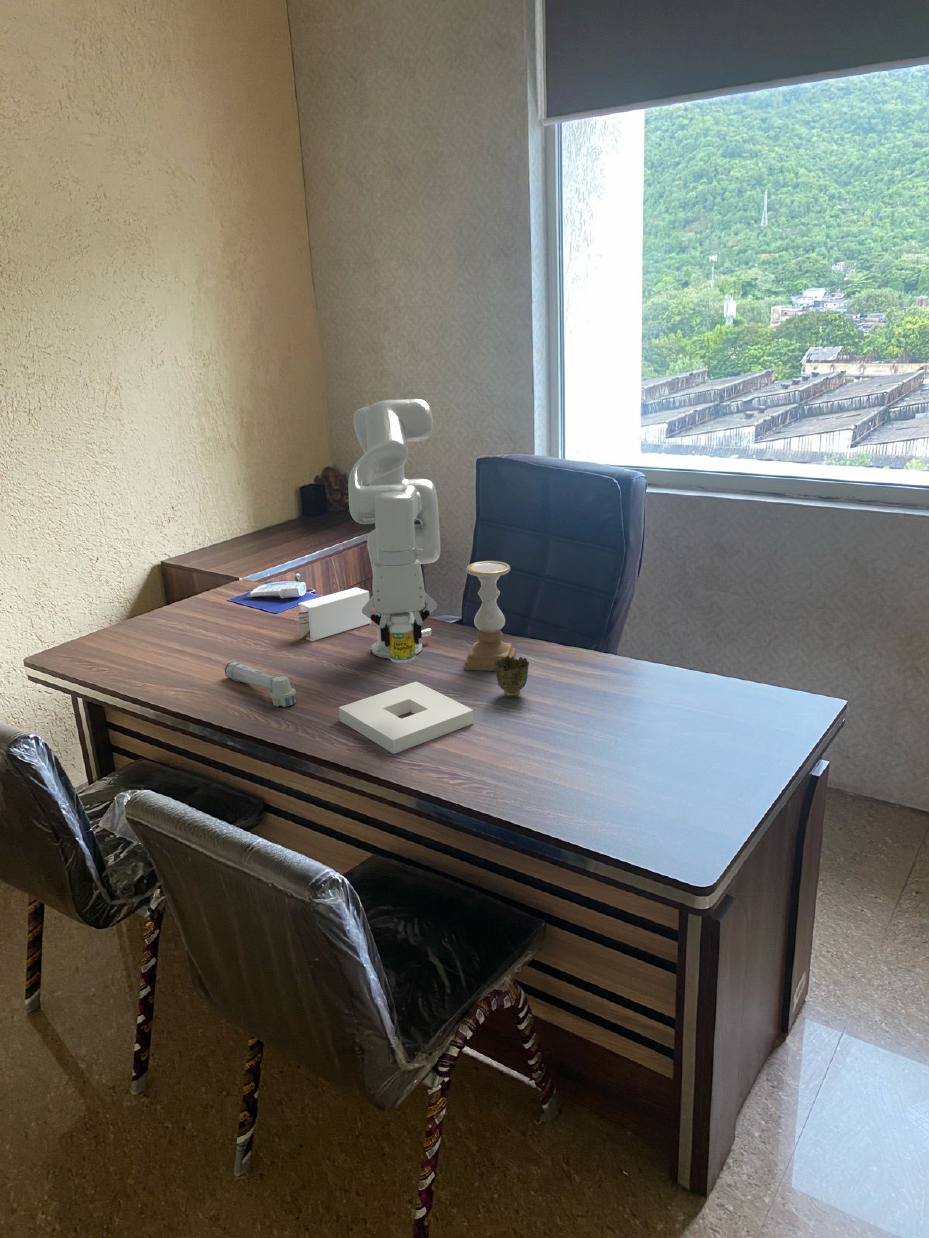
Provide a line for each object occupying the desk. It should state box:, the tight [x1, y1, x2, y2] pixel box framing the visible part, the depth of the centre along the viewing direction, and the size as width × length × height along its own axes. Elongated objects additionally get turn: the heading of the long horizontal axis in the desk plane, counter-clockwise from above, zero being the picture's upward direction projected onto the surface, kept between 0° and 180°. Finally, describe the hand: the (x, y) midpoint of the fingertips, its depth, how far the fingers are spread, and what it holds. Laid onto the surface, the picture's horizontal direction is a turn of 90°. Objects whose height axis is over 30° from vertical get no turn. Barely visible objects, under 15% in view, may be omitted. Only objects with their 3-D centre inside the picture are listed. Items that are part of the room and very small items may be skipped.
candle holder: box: [464, 560, 517, 672], centre depth 215 cm, size 11×11×24 cm
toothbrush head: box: [224, 661, 297, 708], centre depth 207 cm, size 5×7×25 cm
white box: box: [297, 586, 372, 643], centre depth 242 cm, size 20×6×9 cm, turn 132°
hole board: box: [338, 680, 475, 755], centre depth 189 cm, size 20×20×3 cm
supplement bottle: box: [388, 613, 417, 664], centre depth 183 cm, size 5×5×10 cm
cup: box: [494, 656, 530, 699], centre depth 199 cm, size 8×7×8 cm
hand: (401, 642), depth 184 cm, fingers closed on supplement bottle, 5 cm apart
